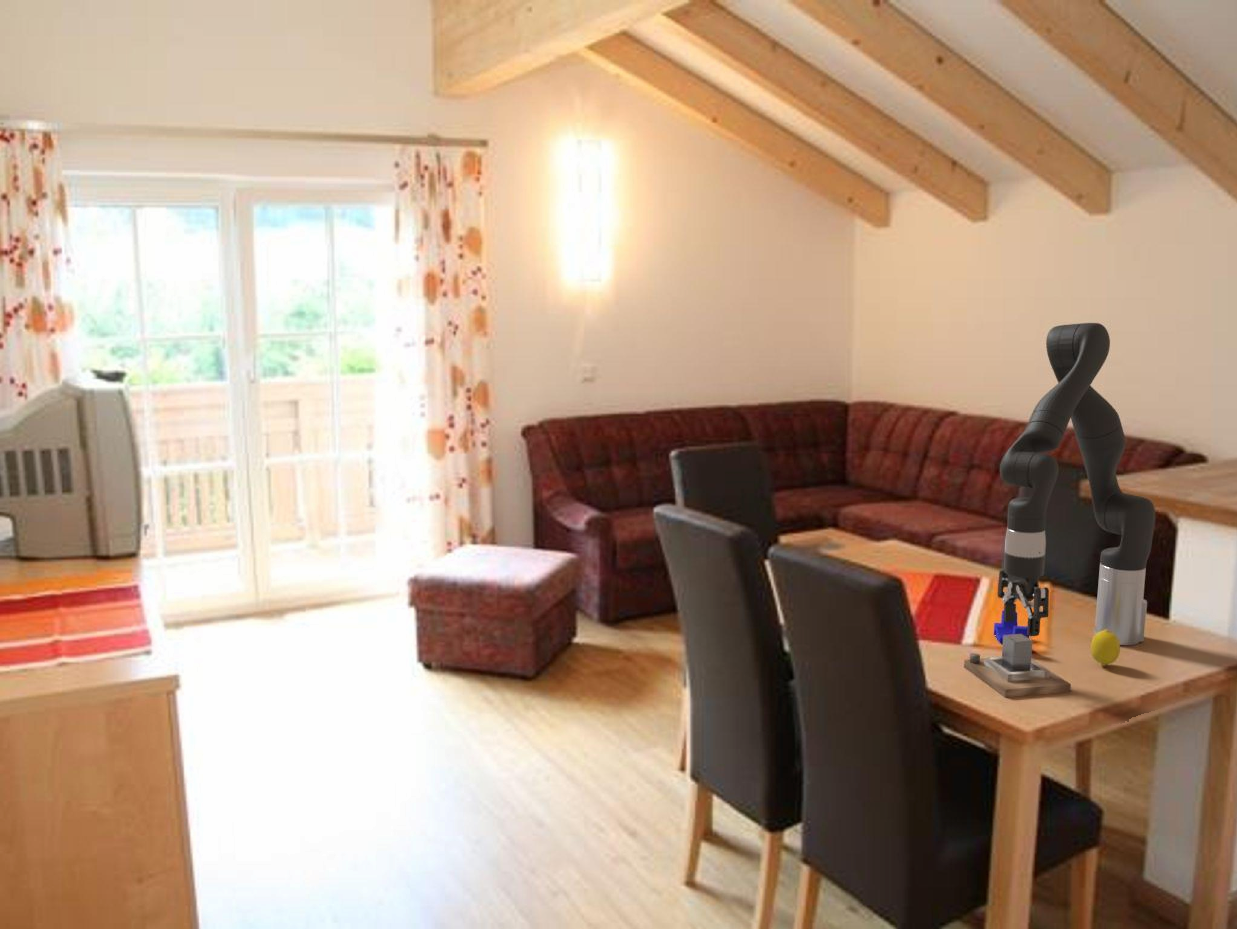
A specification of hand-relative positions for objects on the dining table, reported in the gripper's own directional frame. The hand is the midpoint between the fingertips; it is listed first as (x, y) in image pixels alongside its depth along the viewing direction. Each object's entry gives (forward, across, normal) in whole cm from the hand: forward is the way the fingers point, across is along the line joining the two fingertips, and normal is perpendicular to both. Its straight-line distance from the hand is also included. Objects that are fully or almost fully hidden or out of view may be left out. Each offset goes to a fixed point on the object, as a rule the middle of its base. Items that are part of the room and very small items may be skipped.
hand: (1020, 628), depth 206 cm
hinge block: (+9, 0, +1) cm, 9 cm away
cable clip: (+12, +19, -10) cm, 24 cm away
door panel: (+11, 0, +1) cm, 11 cm away
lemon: (+12, +3, -22) cm, 25 cm away
